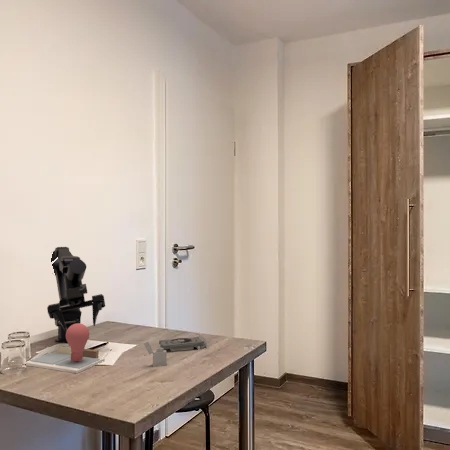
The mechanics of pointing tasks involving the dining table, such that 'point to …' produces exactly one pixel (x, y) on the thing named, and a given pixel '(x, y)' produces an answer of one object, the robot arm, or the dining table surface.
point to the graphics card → (185, 343)
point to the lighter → (156, 355)
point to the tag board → (66, 360)
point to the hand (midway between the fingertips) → (80, 328)
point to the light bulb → (77, 340)
